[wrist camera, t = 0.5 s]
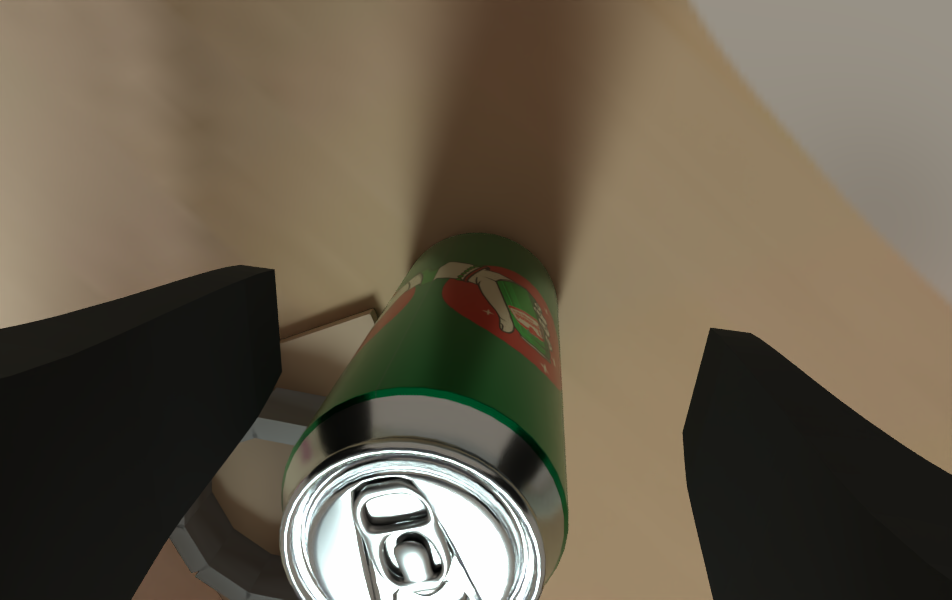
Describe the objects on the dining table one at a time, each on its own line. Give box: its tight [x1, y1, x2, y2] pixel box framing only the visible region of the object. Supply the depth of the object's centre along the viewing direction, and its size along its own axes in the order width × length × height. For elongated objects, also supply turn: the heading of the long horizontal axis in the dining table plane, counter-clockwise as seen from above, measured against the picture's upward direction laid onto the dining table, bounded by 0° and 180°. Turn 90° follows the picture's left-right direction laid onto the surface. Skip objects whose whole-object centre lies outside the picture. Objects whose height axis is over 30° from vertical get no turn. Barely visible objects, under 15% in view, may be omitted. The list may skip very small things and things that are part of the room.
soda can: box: [279, 233, 568, 600], centre depth 16 cm, size 5×5×12 cm
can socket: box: [169, 308, 378, 600], centre depth 23 cm, size 11×11×2 cm
